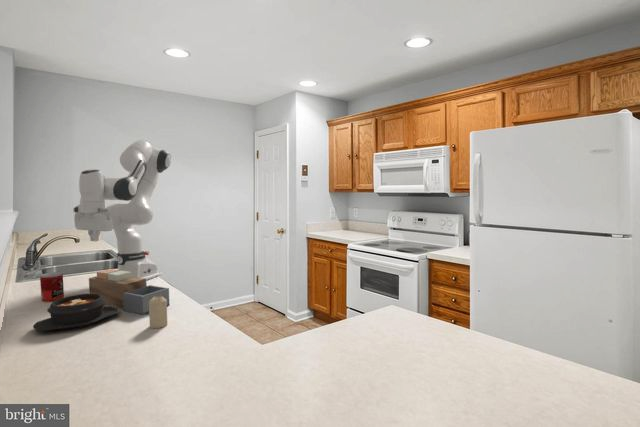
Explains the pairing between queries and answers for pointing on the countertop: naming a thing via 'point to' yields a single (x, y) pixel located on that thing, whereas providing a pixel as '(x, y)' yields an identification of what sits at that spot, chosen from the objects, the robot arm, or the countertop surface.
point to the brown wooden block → (114, 289)
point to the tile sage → (119, 275)
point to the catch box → (143, 298)
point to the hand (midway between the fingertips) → (94, 241)
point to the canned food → (51, 286)
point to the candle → (158, 312)
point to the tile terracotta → (105, 273)
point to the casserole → (75, 312)
